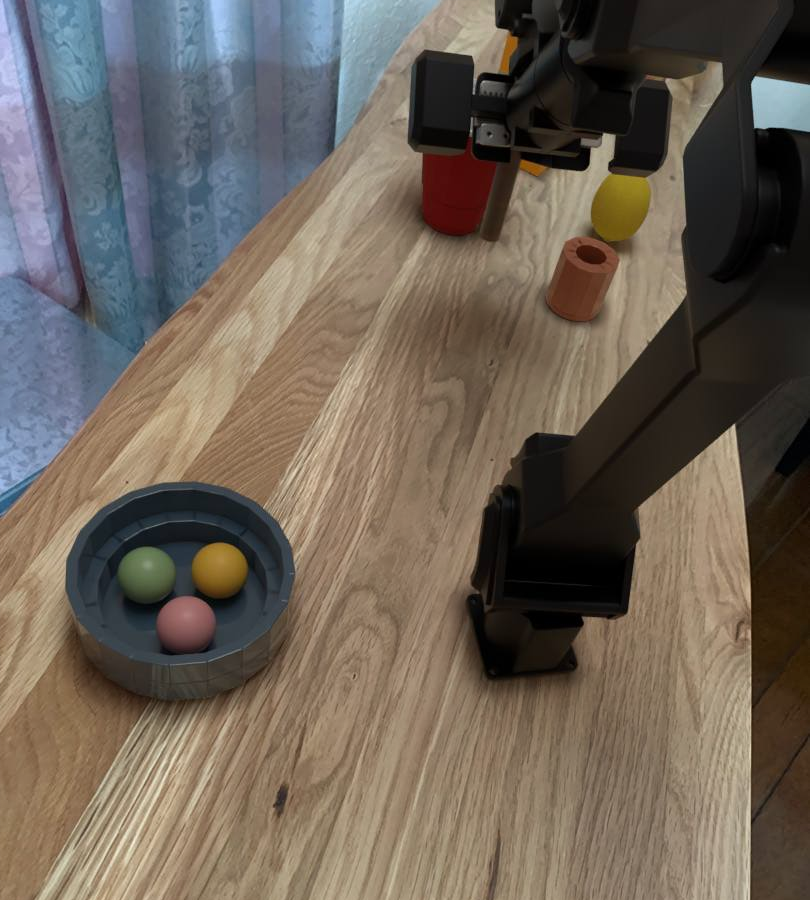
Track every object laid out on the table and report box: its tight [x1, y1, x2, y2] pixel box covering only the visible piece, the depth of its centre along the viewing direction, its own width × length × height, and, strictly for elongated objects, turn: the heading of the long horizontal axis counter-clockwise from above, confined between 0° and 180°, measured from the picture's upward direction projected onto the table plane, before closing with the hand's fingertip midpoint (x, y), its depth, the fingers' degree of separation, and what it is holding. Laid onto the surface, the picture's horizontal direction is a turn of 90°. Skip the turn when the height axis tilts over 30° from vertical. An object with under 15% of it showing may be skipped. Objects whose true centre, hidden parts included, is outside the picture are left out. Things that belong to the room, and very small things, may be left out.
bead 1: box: [117, 547, 176, 604], centre depth 55 cm, size 4×4×4 cm
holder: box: [545, 236, 621, 322], centre depth 81 cm, size 5×5×6 cm
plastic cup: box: [421, 78, 498, 236], centre depth 84 cm, size 11×11×12 cm
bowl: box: [64, 480, 296, 702], centre depth 55 cm, size 13×13×5 cm
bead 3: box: [191, 543, 248, 599], centre depth 56 cm, size 4×4×4 cm
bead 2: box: [156, 596, 217, 655], centre depth 54 cm, size 4×4×4 cm
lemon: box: [590, 173, 652, 243], centre depth 87 cm, size 6×6×8 cm
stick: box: [478, 150, 524, 243], centre depth 70 cm, size 2×2×14 cm
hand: (507, 149), depth 71 cm, fingers closed on stick, 2 cm apart
